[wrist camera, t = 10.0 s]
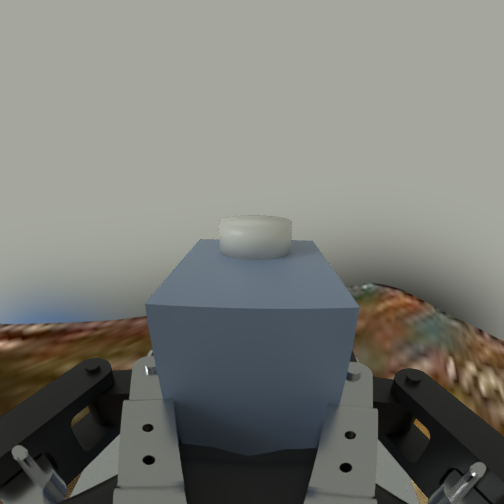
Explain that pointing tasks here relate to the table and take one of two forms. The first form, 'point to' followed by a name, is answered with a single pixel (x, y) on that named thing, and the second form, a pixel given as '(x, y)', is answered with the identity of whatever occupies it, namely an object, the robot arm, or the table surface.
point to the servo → (252, 338)
